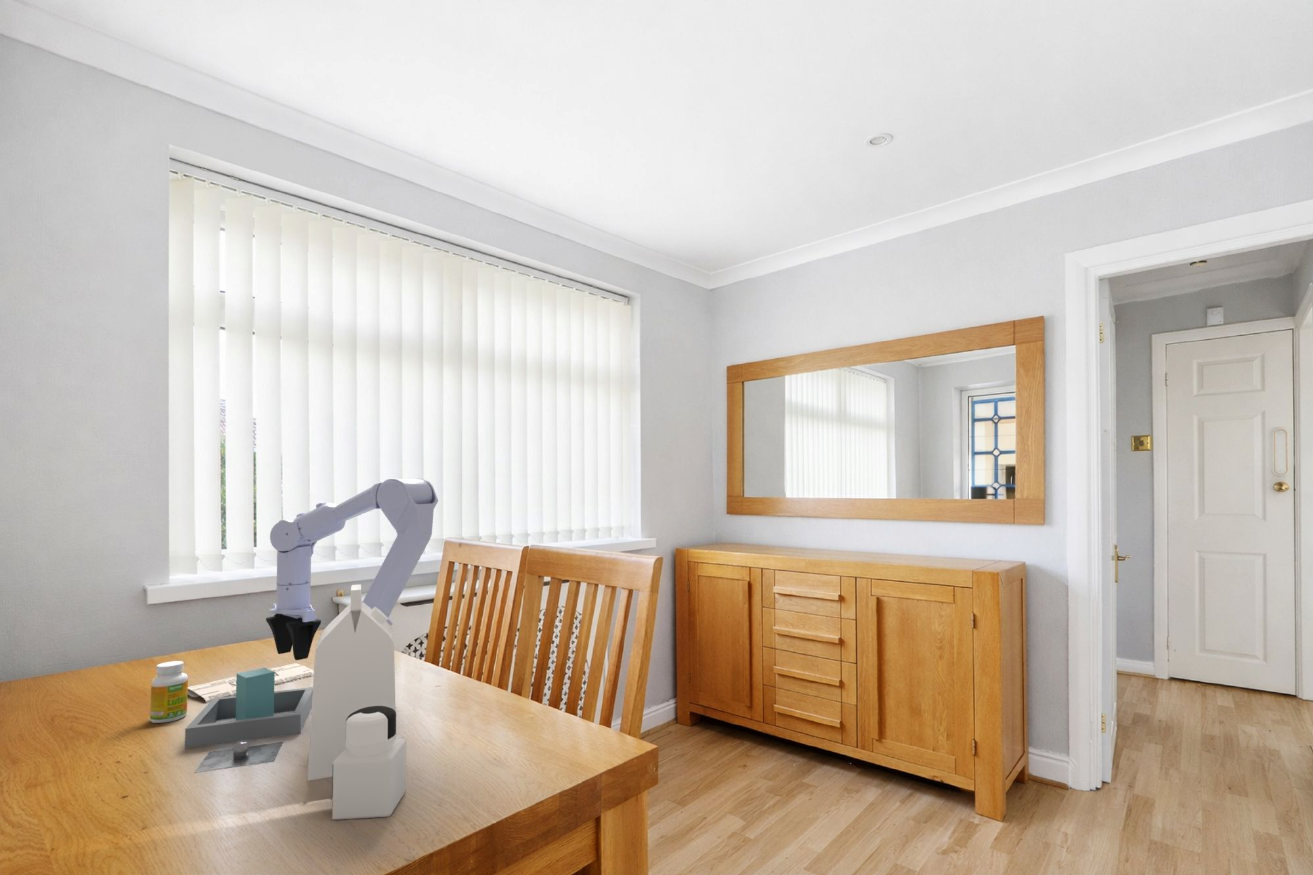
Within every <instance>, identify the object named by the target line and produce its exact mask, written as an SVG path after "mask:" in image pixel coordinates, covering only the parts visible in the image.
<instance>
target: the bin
mask: <svg viewBox="0 0 1313 875" xmlns="http://www.w3.org/2000/svg"><path fill="white" fill-rule="evenodd" d="M312 695H313V686H311V687H310V686H309V687H302V688H292V689H284V690H274V716H267V717H258V718H250V719H242V720H236V696H228V697H219V698H213V699H212V700H211V701H210V702H208V703H207V704H206V706H205V707H203V709H202V710H201V711H200V712H199V714H197V715H196V716H195V718H194V719H192V721H191V722H190V723H189V724H188V725H187V726H186V728H184V729H185V731H184V733H185V734H184V736H185V737H184V750H186V749H187V750H189V749H194V748H202V747H208V746H217V745H224V744H232V743H233V744H234V743H235V742H238V741H242V740H248V741H256V740H263V739H269V738H277V737H284V736H293V735H299V734H301V733H302V731H303V730H304V729H303V728H304V727H305V724H306V722H307V720H308V717H309V715H310V714H311V711H312ZM287 712H293V713H287ZM278 713H282V714H278ZM284 713H285V714H284ZM275 714H276V715H275ZM230 719H234V720H230ZM222 720H227V721H222ZM217 721H219V722H217Z"/></svg>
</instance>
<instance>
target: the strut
mask: <svg viewBox="0 0 1313 875" xmlns="http://www.w3.org/2000/svg"><path fill="white" fill-rule="evenodd" d="M269 669H270V668H266V667H262V668H257V669H251V670H246V671H241V672H237V673H236V676H237V679H236V718H235V720H242V719H250V718H258V717H267V716H275V713H274V691H275V686H274V678H275V672H274V671H271V670H269Z"/></svg>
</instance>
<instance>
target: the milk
mask: <svg viewBox="0 0 1313 875" xmlns="http://www.w3.org/2000/svg"><path fill="white" fill-rule="evenodd" d="M362 596H363V595H362V583H360V584H352V585H351V588H350V603H349V604H348V605H347V606H346V607H345V608H344V609H343V610H342V611H341V612H340V613H339V614H337V616H336V617H335V618H334V619H333V620H332V621H330V622H329V624H328V625H327V626H326V627H325V628H324V629H323V630H322V631H321V632H320V633H319V636H318V638H317V641H316V644H315V650H314V651H315V653H314V662H313V664H314V665H313V671H314V676H313V681H312V687H313V695H312V709H311V711H310V716H311V717H310V731H309V747H308V762H307V763H308V767H307V782H309V781H315V780H321V779H325V778H326V779H327V778H331V777H332V772H333V762H334V761H335V760H336V759H337V758H338V756H339V755H340V754H341V753H342V752H343V751H344V750H345V749H346V719H347V717H348V716H349V715H350V714H351V713H353V712H355V711H357V710H359V709H362V708H366V707H371V706H386V707H389V708H392V709H394V710H395V712H396V713H397V711H396V709H397V708H396V674H395V673H396V672H395V669H396V668H395V640H394V639H395V638H394V630H393V626H390V625H389V624H388V623H387V622H386V621H387V620H388V618H387V617H386V616H385V614H384V613H383V612H382V611H380V610H379V609H378V608H377V607H374V608H373V609H371V608H370V607H369V606H367V605H366V604H365V603H364V602H363V600H362Z"/></svg>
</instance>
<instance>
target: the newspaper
mask: <svg viewBox="0 0 1313 875" xmlns="http://www.w3.org/2000/svg"><path fill="white" fill-rule="evenodd" d="M268 669H269V670H271V671H274V672H275V678H274V685H275V686H279V685H282V684H281V683H283V684H287V683H290V682H289V681H291V682H294V681H293V680H295V681H298V680H297V679H299V680H302V679H301V678H303V679H305V678H304V677H307V678H309V677H308V676H311V675H314V669H311V668H309V667H307V666H305V665H303V664H299V663H297V662H295V663H290V664H285V665H281V666H277V667H272V668H268ZM311 677H312V676H311ZM236 679H237V675H236V676H232V677H227V678H226V677H225V678H223V679H217V680H214V681H209V682H203V683H200V684H195V685H191V686H188V694H187V696H190V698H196V697H197V698H198V697H201V698H203V700H205V704H209V702H210V701H211V700H212V699H213V698H219V697H228V696H236ZM286 682H287V683H286ZM278 684H279V685H278Z"/></svg>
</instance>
